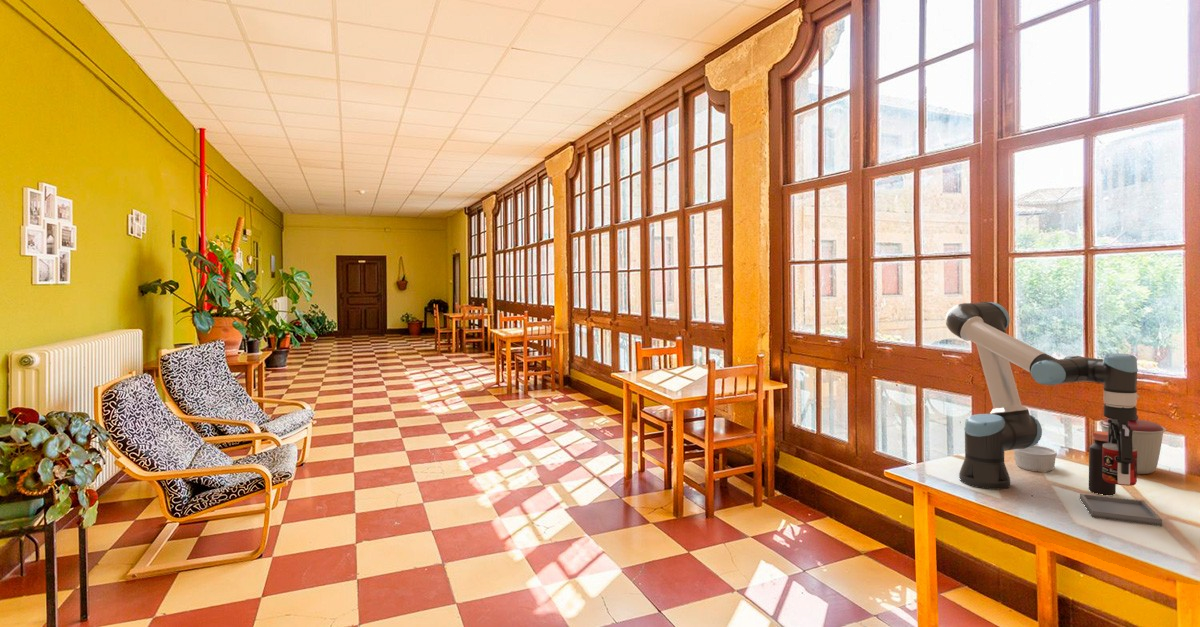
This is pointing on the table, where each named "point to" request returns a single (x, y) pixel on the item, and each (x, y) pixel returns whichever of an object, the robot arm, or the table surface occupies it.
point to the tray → (1120, 509)
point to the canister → (1144, 442)
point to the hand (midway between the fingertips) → (1119, 479)
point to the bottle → (1098, 466)
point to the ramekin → (1035, 458)
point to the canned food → (1116, 464)
